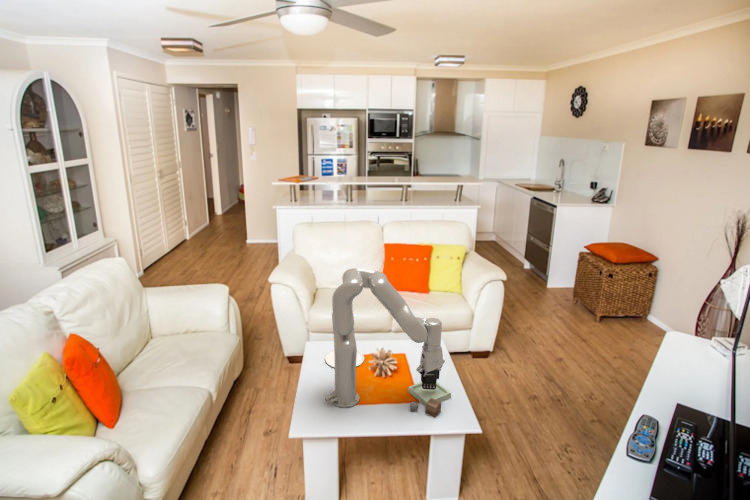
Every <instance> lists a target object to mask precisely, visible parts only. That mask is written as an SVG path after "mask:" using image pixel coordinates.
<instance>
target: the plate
mask: <svg viewBox="0 0 750 500" xmlns="http://www.w3.org/2000/svg"><path fill="white" fill-rule="evenodd" d="M324 361H325V363H326V364H327V365H328V366H329V367H331V368H334V369H335V353H334V350H331V351H330V352H327V354H326V355H325V357H324ZM364 361H365V355H364V354H363V353H362V352H361V351H359V350H357V356H356V368H357V367H359V366H362V364H363V363H364Z"/></svg>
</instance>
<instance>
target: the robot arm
mask: <svg viewBox="0 0 750 500" xmlns="http://www.w3.org/2000/svg"><path fill="white" fill-rule="evenodd" d="M341 279H342V283H341V284H340V285H338V287H337V288H336V289H335V291H334V292H333V295H332V298H331V299H332V301H331V303H332V313H331V321H332V330H333V331H332V333H333V346H334V347H333V349H334V350H333V351H334V353H335V368H334V390H332V393H331V394H330V395H327V396H325V397H324V400H325V402H328V401H329V402H330V403H332V404H333V405H335V406H336V407H337V408H343V409H344V408H345V409H347V408H352V407H354V406H356V405H357V404H358V403H359V401H360V395H359V393H358V392H357V367H356V356H357V351H358V348H357V341H356V337H355V317H354V310H353V300H354V299H355V298H356V297H358V296H359V295H360V294H361V293H362V291H363V289H364V288H365V289H370V292H371V294H372V295H373V296H374V297H375V298H376V300H377V301H378V302H380V304H381V305H382V306H383V307H384V308H385V309H386V310H387V311H388V313H389V314H390V315H391V317H392V318H393V319H394V321H396V323H397V324H398V326H399V327H400V328H401V329H402V330H403V332H404V333H405V334H406V335H407V336H408V337H409V339H410V340H411V341H412V342H414V343H416V344H417V343H418V344H421V343H423V345H422V350H421V354H420V359H419V360H420V361H419V365H418V367H416V372H417V373H418V374H420V382H423V383H424V384H426V383H427V376H426V374H427V372H430V371H433V370H435V369H438V375H437V380H440V372H441V371H442V367H444V364H445V362H446V360H445V359H444V357H443V356H444V354H443V349H442V348H443V347H442V345H441V343H442V342H441V341H442V329H443V324H442V321H441V319H439V318H436V317H428V318H425V317H424V318H423V317H417V316H415V314H414V313H413V312H412V310H411V309H410V307H409V304H408V303H407V302H406V299H404V297H403V296H402V295H401V294H400V293H399V292H398V290H397V289H396V288H395V287H394V286H393V285H392V284H391V282H390V281H389V280H388V277H387V275H386V274H385V273H383V272H382V271H379V270H373V269H362V268H355V267H354V268H348V269H346V270H345V271H344V273H343V275H342V278H341ZM423 370H425V372H424V373H423Z"/></svg>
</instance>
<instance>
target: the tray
mask: <svg viewBox="0 0 750 500" xmlns="http://www.w3.org/2000/svg"><path fill="white" fill-rule="evenodd" d="M407 388H408V389H407V393H409V394H410V395H411V396H413V397H414V398H415V399H416V400H417V401H419V403H421V404H422V405H423V406H425V407H426V403H427V402H428V401H429V400H430V399H431V398H433V399H435V400H438V401H440V402H441V403H442V402H443V401H446V400H448V399H450V398H451V397H452V392H450V391H449V390H448V389H447V388H445V387H444V385H441V384H440V383H439V382H437V381H436V389H434V390H432V389H423V388H422V382H421V381H420V382H417V383H415V384H413V385H410V386H408V387H407Z"/></svg>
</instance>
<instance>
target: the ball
mask: <svg viewBox="0 0 750 500" xmlns="http://www.w3.org/2000/svg"><path fill="white" fill-rule="evenodd" d="M418 407H419V405H418V403H417V401H411V402H410V404H409V408H410V409H411V410H412V411H416V410H418Z"/></svg>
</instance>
